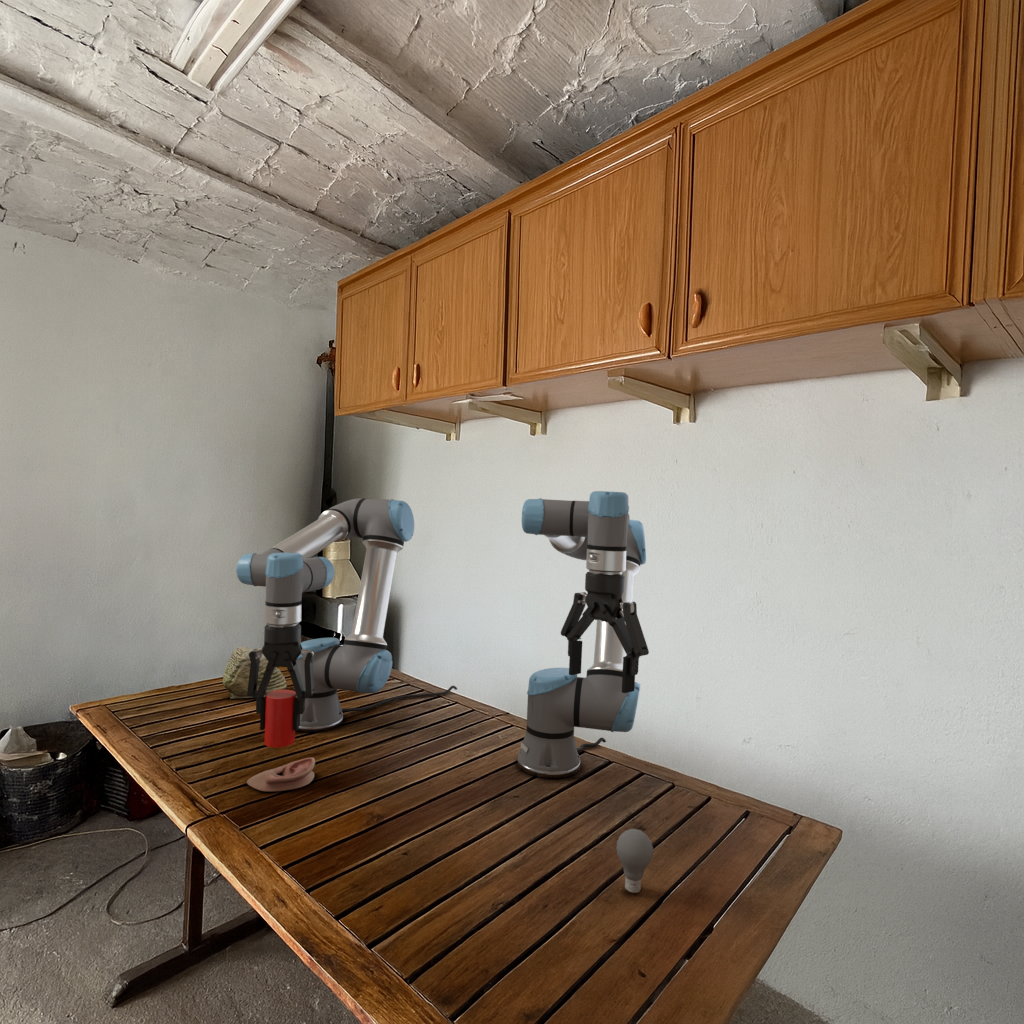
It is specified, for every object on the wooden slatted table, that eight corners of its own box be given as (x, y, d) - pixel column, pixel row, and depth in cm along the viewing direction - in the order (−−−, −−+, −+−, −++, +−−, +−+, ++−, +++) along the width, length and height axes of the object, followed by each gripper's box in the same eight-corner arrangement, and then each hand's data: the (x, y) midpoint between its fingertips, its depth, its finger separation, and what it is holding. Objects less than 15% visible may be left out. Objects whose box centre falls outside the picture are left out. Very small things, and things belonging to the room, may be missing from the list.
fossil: (218, 695, 195) (220, 647, 195) (278, 685, 208) (279, 640, 207) (228, 703, 189) (230, 653, 188) (289, 692, 201) (290, 645, 201)
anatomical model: (238, 769, 136) (269, 749, 147) (238, 787, 136) (269, 766, 147) (295, 777, 133) (322, 756, 144) (294, 796, 133) (321, 773, 144)
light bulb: (610, 879, 108) (613, 822, 108) (644, 879, 109) (647, 822, 109) (619, 902, 102) (622, 840, 102) (655, 901, 103) (658, 840, 103)
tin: (296, 735, 143) (298, 689, 143) (292, 747, 137) (293, 698, 136) (267, 736, 142) (268, 689, 141) (261, 748, 136) (262, 699, 135)
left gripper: (231, 626, 134) (228, 733, 135) (324, 628, 135) (320, 735, 136) (243, 619, 141) (241, 721, 142) (331, 621, 143) (328, 722, 144)
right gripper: (546, 565, 128) (541, 669, 129) (645, 581, 109) (639, 703, 109) (572, 564, 133) (568, 664, 133) (671, 579, 114) (666, 696, 114)
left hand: (280, 727), depth 139 cm, fingers closed on tin, 6 cm apart
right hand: (600, 682), depth 121 cm, fingers open, 13 cm apart
